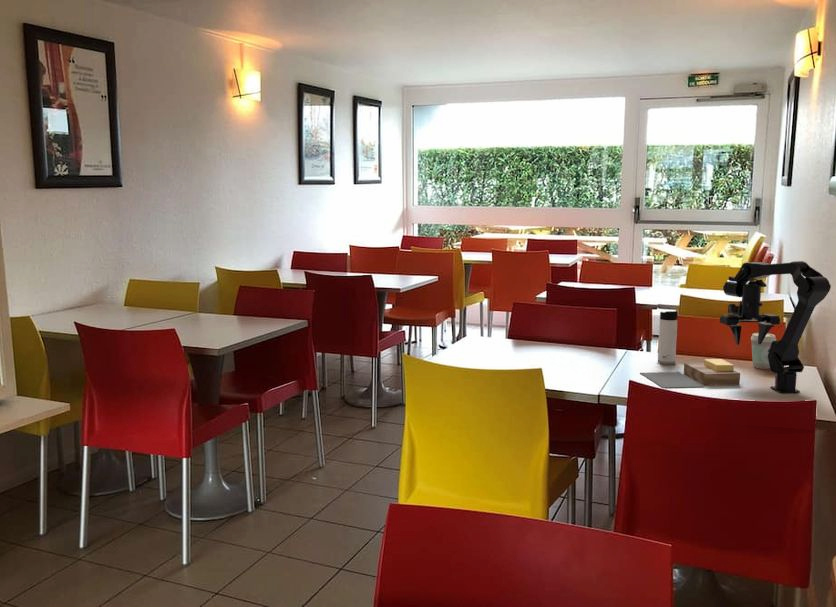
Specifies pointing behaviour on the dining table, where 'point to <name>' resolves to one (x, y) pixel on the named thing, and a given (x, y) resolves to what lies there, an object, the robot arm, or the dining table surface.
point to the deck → (710, 375)
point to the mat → (671, 380)
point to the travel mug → (667, 337)
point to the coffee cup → (761, 350)
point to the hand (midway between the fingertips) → (748, 344)
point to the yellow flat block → (718, 365)
